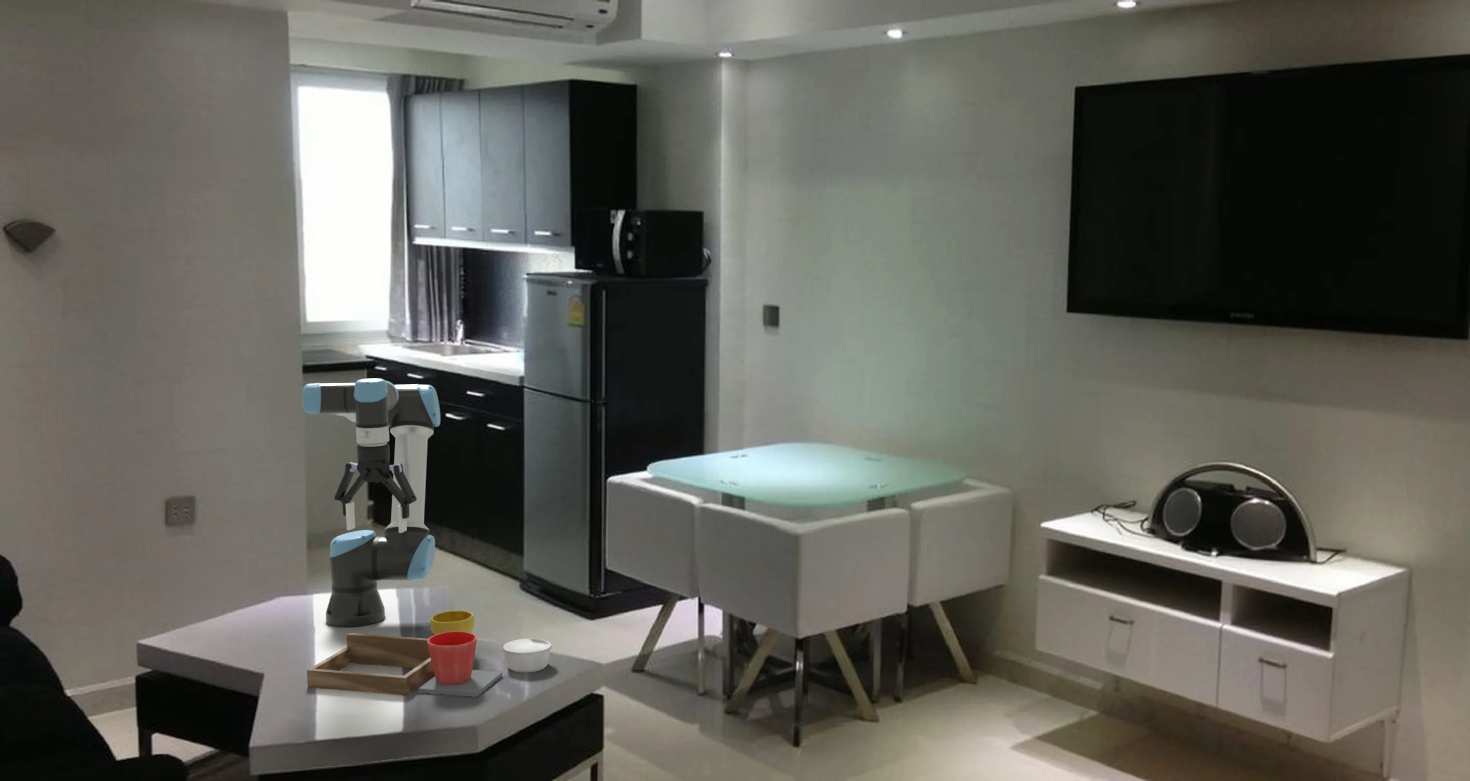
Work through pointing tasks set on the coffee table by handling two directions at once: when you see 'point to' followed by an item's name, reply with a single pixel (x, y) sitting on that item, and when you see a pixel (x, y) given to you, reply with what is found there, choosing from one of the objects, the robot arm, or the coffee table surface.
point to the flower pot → (452, 656)
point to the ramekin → (527, 654)
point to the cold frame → (375, 653)
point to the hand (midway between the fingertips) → (376, 530)
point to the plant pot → (452, 621)
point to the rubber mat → (463, 684)
